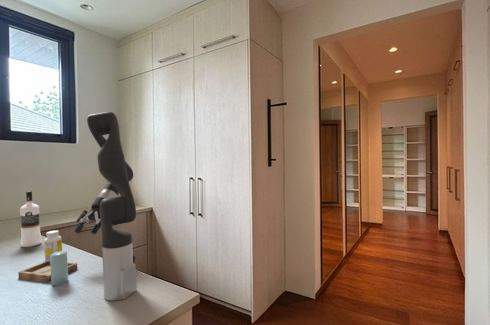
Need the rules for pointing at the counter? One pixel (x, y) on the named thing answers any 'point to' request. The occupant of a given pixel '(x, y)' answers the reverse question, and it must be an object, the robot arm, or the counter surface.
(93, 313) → the counter surface
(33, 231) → the vodka
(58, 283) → the pale green capsule
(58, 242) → the supplement bottle
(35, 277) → the tray
